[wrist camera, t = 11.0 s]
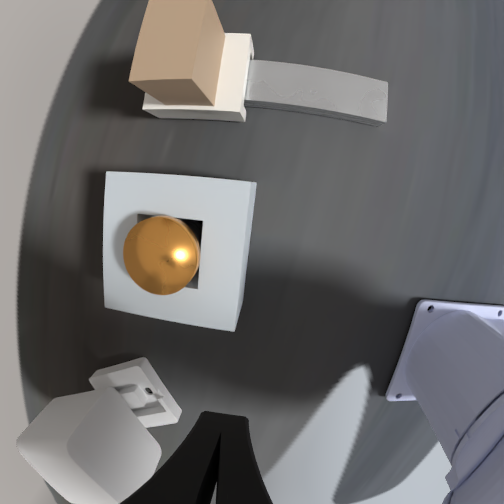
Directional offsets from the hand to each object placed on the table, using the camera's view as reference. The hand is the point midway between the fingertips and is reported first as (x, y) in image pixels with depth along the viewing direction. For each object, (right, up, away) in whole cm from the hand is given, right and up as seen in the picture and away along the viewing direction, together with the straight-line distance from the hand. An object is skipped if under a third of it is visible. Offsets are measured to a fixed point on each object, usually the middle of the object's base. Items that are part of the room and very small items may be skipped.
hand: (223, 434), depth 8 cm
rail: (+2, +15, +7) cm, 17 cm away
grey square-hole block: (-3, +7, +9) cm, 12 cm away
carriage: (-2, +15, +7) cm, 17 cm away
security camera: (-9, -5, +13) cm, 16 cm away
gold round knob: (-3, +6, +9) cm, 11 cm away
